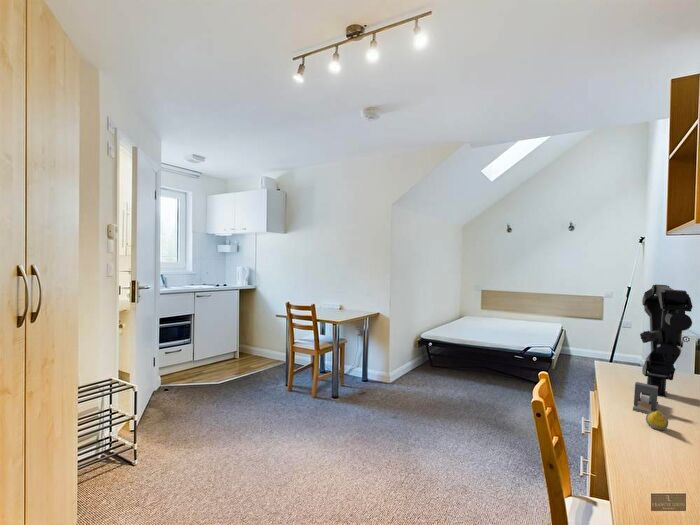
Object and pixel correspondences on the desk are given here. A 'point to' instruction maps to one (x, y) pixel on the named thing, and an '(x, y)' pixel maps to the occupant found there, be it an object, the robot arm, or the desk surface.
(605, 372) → the desk surface
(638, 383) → the collar
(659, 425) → the yellow cone
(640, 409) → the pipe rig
